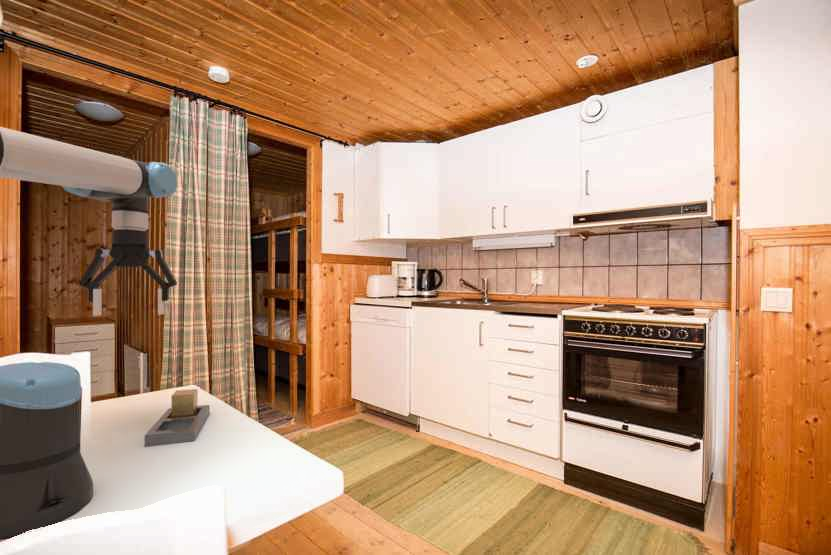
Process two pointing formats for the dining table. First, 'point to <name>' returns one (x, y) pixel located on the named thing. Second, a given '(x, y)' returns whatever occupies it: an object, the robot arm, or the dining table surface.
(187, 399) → the block
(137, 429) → the dining table surface
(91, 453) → the dining table surface
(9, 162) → the robot arm
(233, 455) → the dining table surface
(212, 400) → the dining table surface
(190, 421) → the rail
